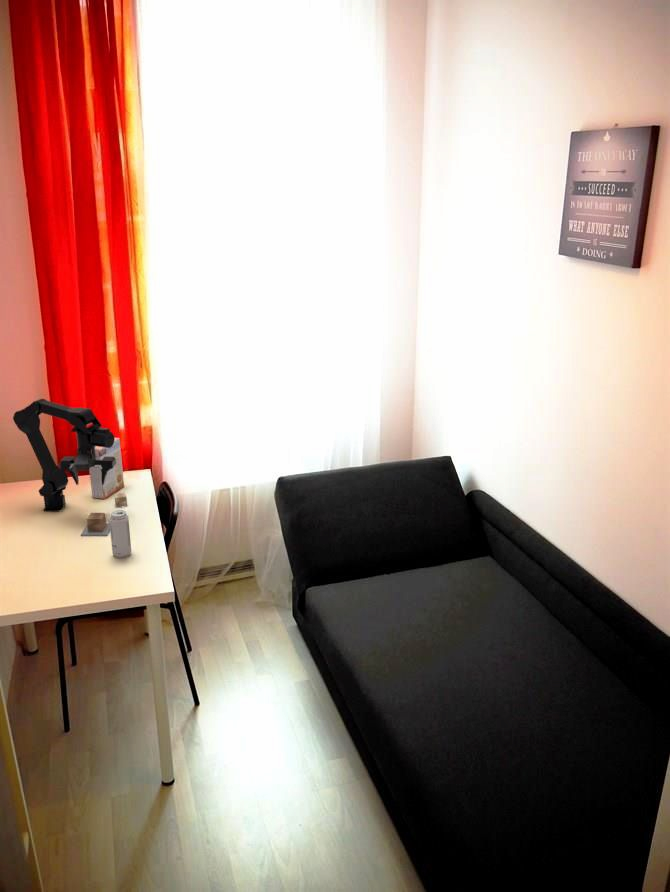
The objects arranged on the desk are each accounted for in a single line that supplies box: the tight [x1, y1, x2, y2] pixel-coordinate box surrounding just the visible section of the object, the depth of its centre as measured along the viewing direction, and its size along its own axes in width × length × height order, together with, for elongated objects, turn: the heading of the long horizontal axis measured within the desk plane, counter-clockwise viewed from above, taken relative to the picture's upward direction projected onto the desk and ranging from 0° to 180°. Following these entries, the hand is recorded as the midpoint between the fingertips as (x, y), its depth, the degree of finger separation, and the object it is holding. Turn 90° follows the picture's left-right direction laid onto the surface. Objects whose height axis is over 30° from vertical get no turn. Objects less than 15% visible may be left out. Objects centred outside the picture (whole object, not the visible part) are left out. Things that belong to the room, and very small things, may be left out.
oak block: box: [113, 492, 128, 508], centre depth 283 cm, size 4×4×4 cm
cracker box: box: [88, 437, 125, 500], centre depth 292 cm, size 14×6×21 cm, turn 162°
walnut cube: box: [86, 512, 107, 532], centre depth 262 cm, size 5×5×5 cm
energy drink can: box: [108, 509, 132, 559], centre depth 244 cm, size 6×6×15 cm
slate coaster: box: [80, 522, 110, 537], centre depth 263 cm, size 9×9×1 cm
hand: (90, 484), depth 271 cm, fingers open, 9 cm apart
